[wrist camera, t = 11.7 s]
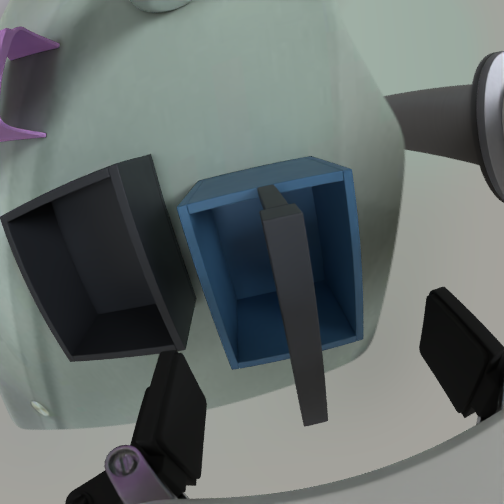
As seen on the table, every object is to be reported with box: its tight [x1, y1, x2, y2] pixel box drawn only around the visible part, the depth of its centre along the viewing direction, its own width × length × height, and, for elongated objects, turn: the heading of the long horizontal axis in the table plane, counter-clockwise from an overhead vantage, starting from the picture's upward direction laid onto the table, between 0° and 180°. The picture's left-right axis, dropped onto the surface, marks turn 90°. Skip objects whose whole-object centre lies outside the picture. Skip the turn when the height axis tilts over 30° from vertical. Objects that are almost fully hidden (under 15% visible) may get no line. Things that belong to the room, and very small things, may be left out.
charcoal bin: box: [0, 154, 196, 362], centre depth 19 cm, size 10×12×7 cm
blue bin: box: [177, 156, 363, 426], centre depth 16 cm, size 8×10×13 cm
